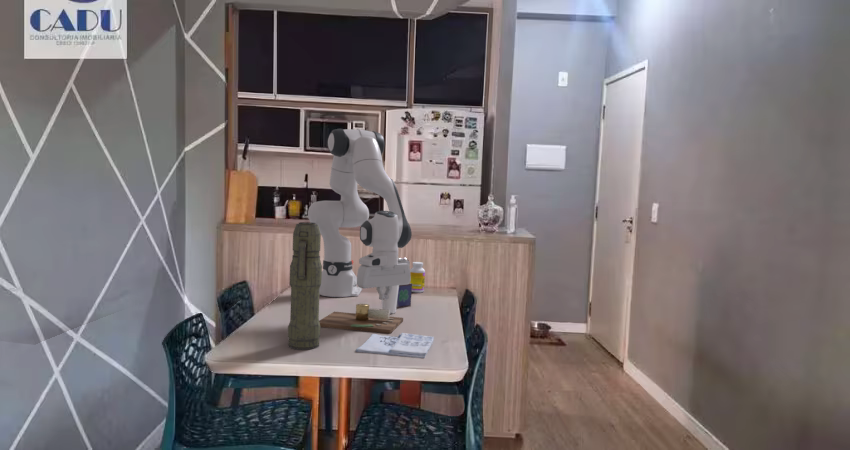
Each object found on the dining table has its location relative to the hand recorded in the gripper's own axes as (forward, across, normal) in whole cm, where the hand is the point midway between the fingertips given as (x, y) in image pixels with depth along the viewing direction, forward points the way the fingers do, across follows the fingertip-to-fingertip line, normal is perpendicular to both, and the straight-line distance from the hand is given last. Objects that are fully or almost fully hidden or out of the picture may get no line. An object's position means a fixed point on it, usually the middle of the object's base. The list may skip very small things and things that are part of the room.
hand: (383, 299), depth 192 cm
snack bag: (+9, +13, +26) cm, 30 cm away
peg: (+6, +5, +1) cm, 8 cm away
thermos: (+8, +36, +12) cm, 39 cm away
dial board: (+8, +8, -1) cm, 11 cm away
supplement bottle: (+7, -44, -38) cm, 58 cm away
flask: (+8, -19, -16) cm, 26 cm away
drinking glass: (+8, -9, -10) cm, 16 cm away
